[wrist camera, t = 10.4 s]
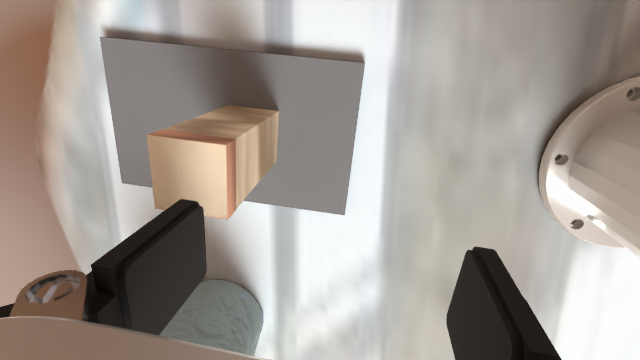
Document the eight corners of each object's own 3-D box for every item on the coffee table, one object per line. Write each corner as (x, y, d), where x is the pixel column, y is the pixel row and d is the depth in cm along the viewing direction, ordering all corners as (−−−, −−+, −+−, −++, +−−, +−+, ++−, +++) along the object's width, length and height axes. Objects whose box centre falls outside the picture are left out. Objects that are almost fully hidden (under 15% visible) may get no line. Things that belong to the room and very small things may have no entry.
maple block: (279, 110, 25) (226, 145, 16) (277, 160, 26) (227, 219, 17) (228, 104, 25) (147, 134, 16) (229, 154, 27) (155, 208, 17)
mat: (364, 62, 23) (364, 63, 23) (345, 210, 28) (344, 215, 27) (107, 37, 25) (99, 36, 25) (128, 179, 30) (122, 183, 29)
